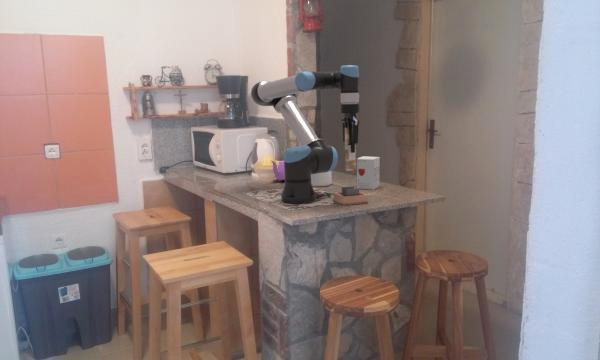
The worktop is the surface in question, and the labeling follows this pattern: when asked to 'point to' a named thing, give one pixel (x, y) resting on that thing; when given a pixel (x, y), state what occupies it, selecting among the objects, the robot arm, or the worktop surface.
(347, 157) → the bar
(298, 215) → the worktop surface
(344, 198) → the square copper tray
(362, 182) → the supplement box
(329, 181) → the can
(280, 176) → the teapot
